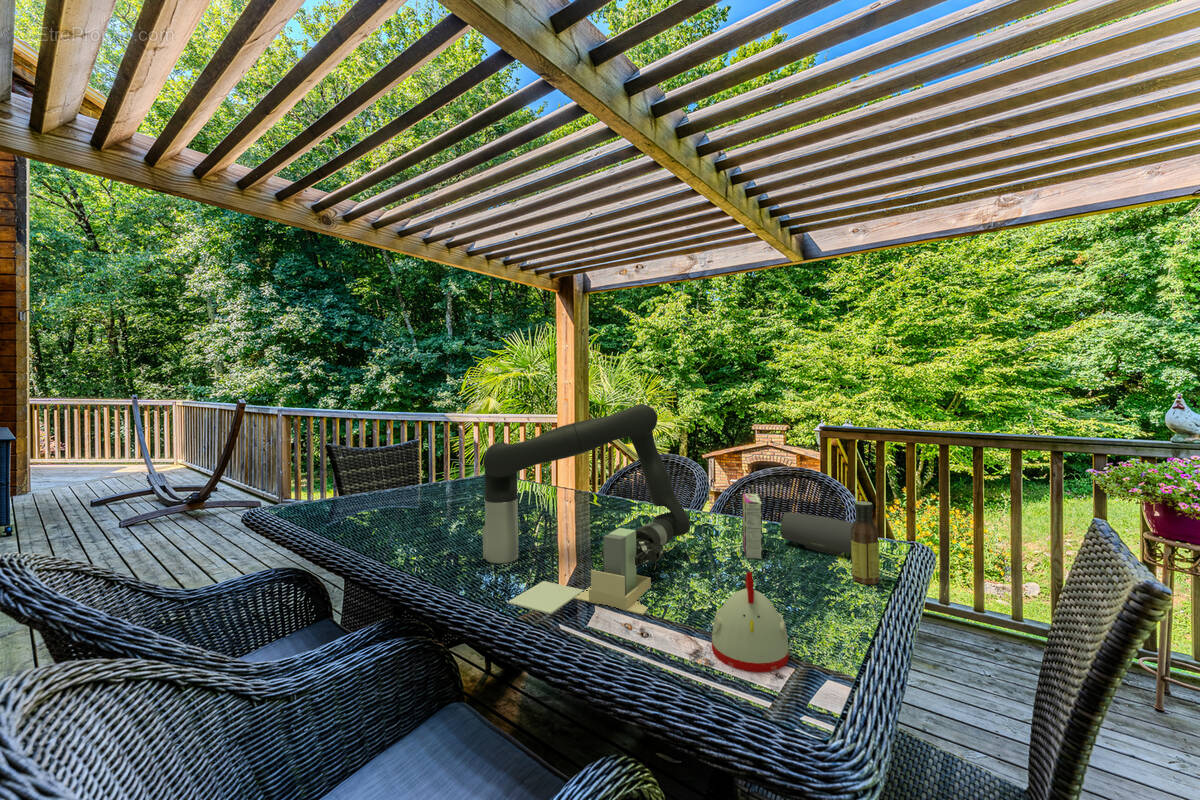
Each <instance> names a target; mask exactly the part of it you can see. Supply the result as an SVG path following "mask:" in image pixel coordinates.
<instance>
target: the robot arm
mask: <svg viewBox="0 0 1200 800" xmlns="http://www.w3.org/2000/svg"><path fill="white" fill-rule="evenodd" d="M657 423H658V413H657V412H656V410H655V409H654V408H653V407H652V406H649V405H646V404H644V403H640V404H636V405H633V406H631V407H628V408H626V409H624V410H623V409H622V410H621V411H619V412H616V413H613V414H610V415H609V414H608V415H606V416H602V417H596V418H590V419H585V420H581V421H575V422H572V423H569V424H564V425H561V426H558V427H556V428H553V429H550V430H548V431H546V432H544V433H541V434H540V435H538V436H536V437H534V438H531V439H528V440H525V441H519V442H515V443H506V442H495V443H493V444H491V445H489V447H488V448H487V450H486V451H485V453H484V457H483V468H484V518H485V519H484V520H485V521H484V522H485V523H484V525H483V526H482V556H483V558H482V559H484V560H485V561H487V562H488V563H491V564H507V563H511V562H514V561H516V560H518V558H519V517H518V516H519V513H518V512H519V511H518V510H519V509H518V506H519V505H518V472H520V471H522V470H525V469H528V468H530V467H533V466H536V465H540V464H546V463H552V462H555V461H559V460H560V461H561V460H563V459H568V458H572V457H575V456H578V455H581V454H586V453H587V452H590V451H593V450H596V449H598V448H601V447H602V446H605V445H607V444H609V443H612V442H613V441H617V440H621V439H625V438H629V439H630V441H631V443H632V446H633V447H634V449H635V453H636V456H637V458H638V460H639V463H640V464H639V465H640V467H641V470H642V473H643V476H644V480H645V483H646V486H647V490H648V493H649V497H650V500H651V502H652V505H654V506H655V507H665V508H667V510H669V512H664V513H661V514H658V515H655V516H654V517H653V519H652V520H651V522H649V523H646V524H644V525H642V526H641V527H639V528H637V529H635V530H636V556H635V565H636V567H639V566H641V565H644V563H648V562H649V561H651V562H652V563H657V562H659V560H660V559H661V558H662V557H664V546H665V545H667V544H668V543H669V542H670V541H671V540H672V539H673V538H674V537H678V536H683V535H686V534H688V533H689V532H690V528H691V522H690V521H691V519H690V518H689V516H688V514H687V512H686V510H685V509H684V507H683V506H682V504H681V503H680V501H679V499H678V497H677V496H676V494H675V490H674V487H673V484H672V482H671V478H670V475H669V472H668V470H667V468H666V465H665V464H664V462H663V460H662V458H661V456H660V453H659V451H658V449H657V445H656V442H655V438H654V430H655V428H656V427H657ZM601 555H602V559H603V560H604V549H603V550H602V554H601Z"/></svg>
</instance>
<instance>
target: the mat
mask: <svg viewBox="0 0 1200 800" xmlns="http://www.w3.org/2000/svg"><path fill="white" fill-rule="evenodd" d="M584 590H585V589H582V588H577V587H572V586H568V585H563V584H558V583H555V582H550V581H545V580H542V581H541V582H539V583H538V584H536V585H534V586H532V587H531V588H529V589H527V590H525V591H524V592H522V593H520V594H518V595H517V596H515V597H512V598H511V599H510V600H508V601H507V604H509V605H512V606H513V605H514V606H516V605H517V607H519V608H520V607H521V608H525V609H529V610H531V611H537V612H540V613H543V614H547V615H552V614H554V613H555V612H557V611H558V610H559V609H561V608H562V607H564V606H566V605H567V604H568V603H569V602H571V601H572V600H574V597H576V596H577V595H578V594H580V593H581V592H582V591H584Z"/></svg>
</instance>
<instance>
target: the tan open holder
mask: <svg viewBox="0 0 1200 800" xmlns="http://www.w3.org/2000/svg"><path fill="white" fill-rule="evenodd" d="M651 580H652V578H651V577H650V576H649V577H648V576H643V575H639V574H636V586H637V587H636V588H635V589H633V590H632V591H631V592H630V593H628V594H627V595H626V596H625V576H620V575H615V574H610V573H605V572H604V571H599V570H594V569H591V570H590V584H591V585H590V586H589V587H587V588H586V589H583V590H584V592H581V593H580V594H579V595H577V596H576V597H574V599H575V600H579V601H583V602H586V601H587V603H590V604H591V603H592V604H595V603H596V604H595V605H599V604H603V605H608V606H611V607H610V608H612V607H616V608H619V609H618V610H620V609H621V610H622V611H625V612H630V613H633V614H638V615H642V616H643V615H644V614H646V612H647V611H648V610H649V609H648V607H646V606H644V605H643V604H642V605H641V604H640V603H639V602H638V601H637V600H638V599H639V597H641V595H643V594H644V593H645V592H646V591H647V590H648V589H650V588H651V589H652V587H651V582H652V581H651ZM590 587H591V588H590ZM586 590H588V591H586ZM574 599H573V600H574ZM638 603H639V604H638ZM603 605H602V606H603ZM608 606H607V607H608ZM616 608H615V609H616ZM647 609H648V610H647Z"/></svg>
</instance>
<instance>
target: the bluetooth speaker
mask: <svg viewBox="0 0 1200 800" xmlns="http://www.w3.org/2000/svg"><path fill="white" fill-rule="evenodd" d="M853 524H854V522H852V521H847V520H841V519H837V518H833V517H827V516H823V515H822V516H821V515H816V514H815V515H814V514H808V513H799V512H785V513H784V514H783V516H782V520H781V524H780V528H779V530H780V536H781V537H782V539H784V540H786V541H789V542H792V543H796V544H800V545H804V549H807V550H811V551H814V552H820V553H826V554H830V555H836V556H841V555H842V554H848V555H851V527H852V525H853Z"/></svg>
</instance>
